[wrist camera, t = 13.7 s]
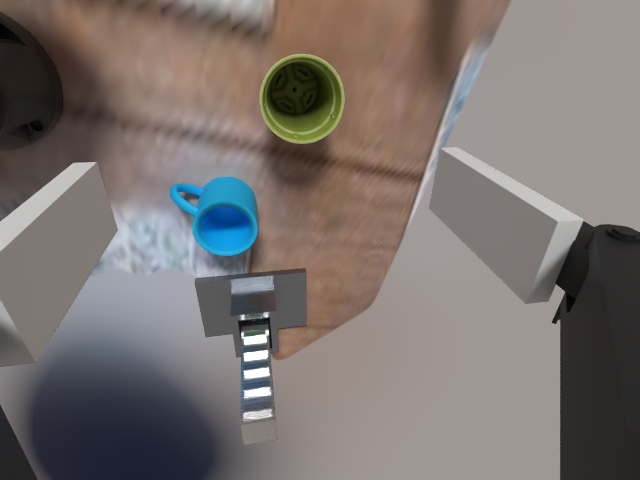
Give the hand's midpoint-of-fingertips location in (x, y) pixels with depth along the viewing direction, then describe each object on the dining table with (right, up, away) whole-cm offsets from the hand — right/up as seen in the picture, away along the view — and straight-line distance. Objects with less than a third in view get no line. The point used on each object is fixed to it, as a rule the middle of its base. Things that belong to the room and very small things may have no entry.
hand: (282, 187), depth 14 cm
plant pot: (-2, +18, +33) cm, 37 cm away
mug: (-14, +4, +38) cm, 41 cm away
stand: (-10, -13, +49) cm, 51 cm away
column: (-9, -17, +42) cm, 46 cm away
